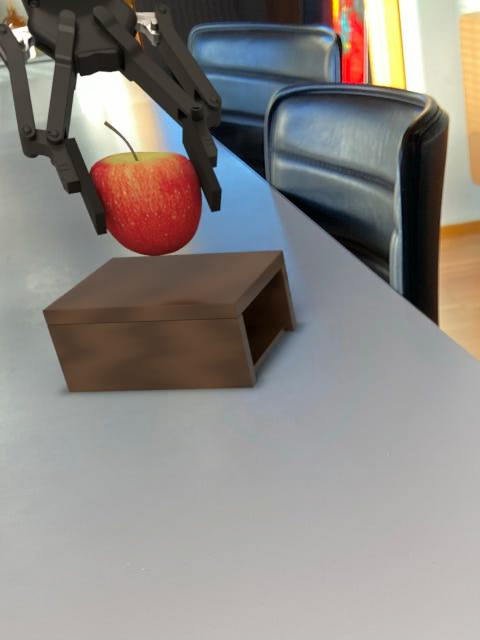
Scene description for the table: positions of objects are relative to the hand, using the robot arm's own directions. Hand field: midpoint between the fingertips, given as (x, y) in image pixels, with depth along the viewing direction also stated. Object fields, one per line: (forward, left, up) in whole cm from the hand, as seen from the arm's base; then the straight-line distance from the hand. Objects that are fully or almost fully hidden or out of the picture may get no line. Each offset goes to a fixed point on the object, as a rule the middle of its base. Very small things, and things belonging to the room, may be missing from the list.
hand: (160, 212), depth 79 cm
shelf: (-2, +3, -13) cm, 13 cm away
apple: (-2, +3, -4) cm, 5 cm away
